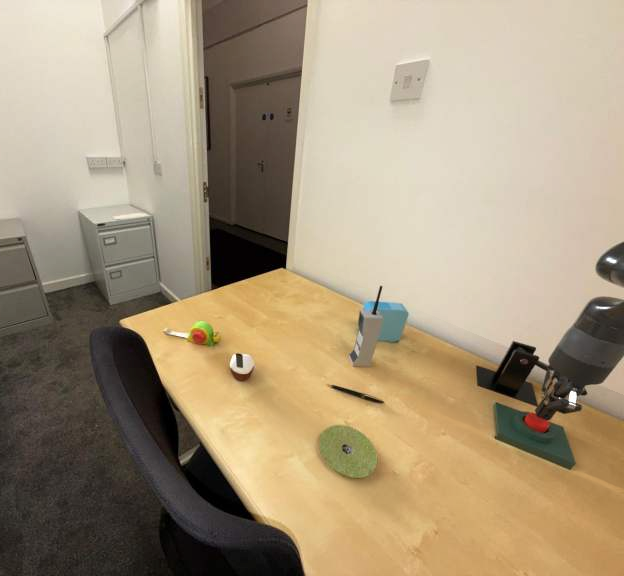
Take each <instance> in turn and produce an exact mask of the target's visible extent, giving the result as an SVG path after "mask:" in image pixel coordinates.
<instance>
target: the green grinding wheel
mask: <svg viewBox="0 0 624 576" xmlns="http://www.w3.org/2000/svg"><path fill="white" fill-rule="evenodd" d="M318 439H319V440H318V447H319V451H320V454H321V455H322V458H323V459H324V460H325V462H326V463H327V464H328V466H330V467H331V468H332V469H333V470H334V471H336V472H338V473H339V474H341V475H344V476H345V477H348V478H354V479H358V478H359V479H360V478H366V477H368V476H370V475H371V474H372V473H373V472H374V471H375V470H376V468H377V464H378V454H377V451H376V448H375V446H374V444H373V443H372V442H371V440H370V439H369V437H367V436H366V435H365V434H364V433H362V432H361V431H360V430H358V429H357V428H355V427H351V426H349V425H344V424H334V425H331V426H328V427H326V428H325V429H324V430H323V431H322V432H321V434H320V436H319V438H318Z"/></svg>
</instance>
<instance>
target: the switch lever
mask: <svg viewBox="0 0 624 576" xmlns="http://www.w3.org/2000/svg"><path fill="white" fill-rule="evenodd" d="M516 350H519V351H522V352H526V353H529V354H532V353H531V352H529V351H527V350H525V349H524V348H522V347H520V346H519V347H518V348H517V349H516ZM513 352H514V351H513ZM513 352H512V354H513ZM548 365H549V364H546V363H544V362H542V361H541V360H538V362H537V363H536V365H535V367H538V368H539V369H542V370H544V371H545V372H547V368H548ZM587 395H588V391H587V389H586V388H585V389H584V391H583V393H582V394H581V395H580V396H583V397H584V396H587Z"/></svg>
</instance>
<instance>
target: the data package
mask: <svg viewBox="0 0 624 576" xmlns="http://www.w3.org/2000/svg"><path fill="white" fill-rule="evenodd" d="M375 302H376V300H375V301H373V300H368V301H366V302H365V303H364V304H363V307H362V310H373V309H374V305H375ZM377 311H378V312H379V313H380V315H381V316H382V317H383V319H384V320H383V323H382V327H381V330H380V333H379V337H378V340H377V342H388V343H389V342H390V343H398V342H400V340H401V339H402V336H403V332H404V330H405V327H406V324H407V321H408V318H409V316H410V315H409V311H408V309H406V307H405V305H404V304H403V303H401V302H389V301H379V303H378V307H377ZM357 329H358V330H359V326H358V327H357Z"/></svg>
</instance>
